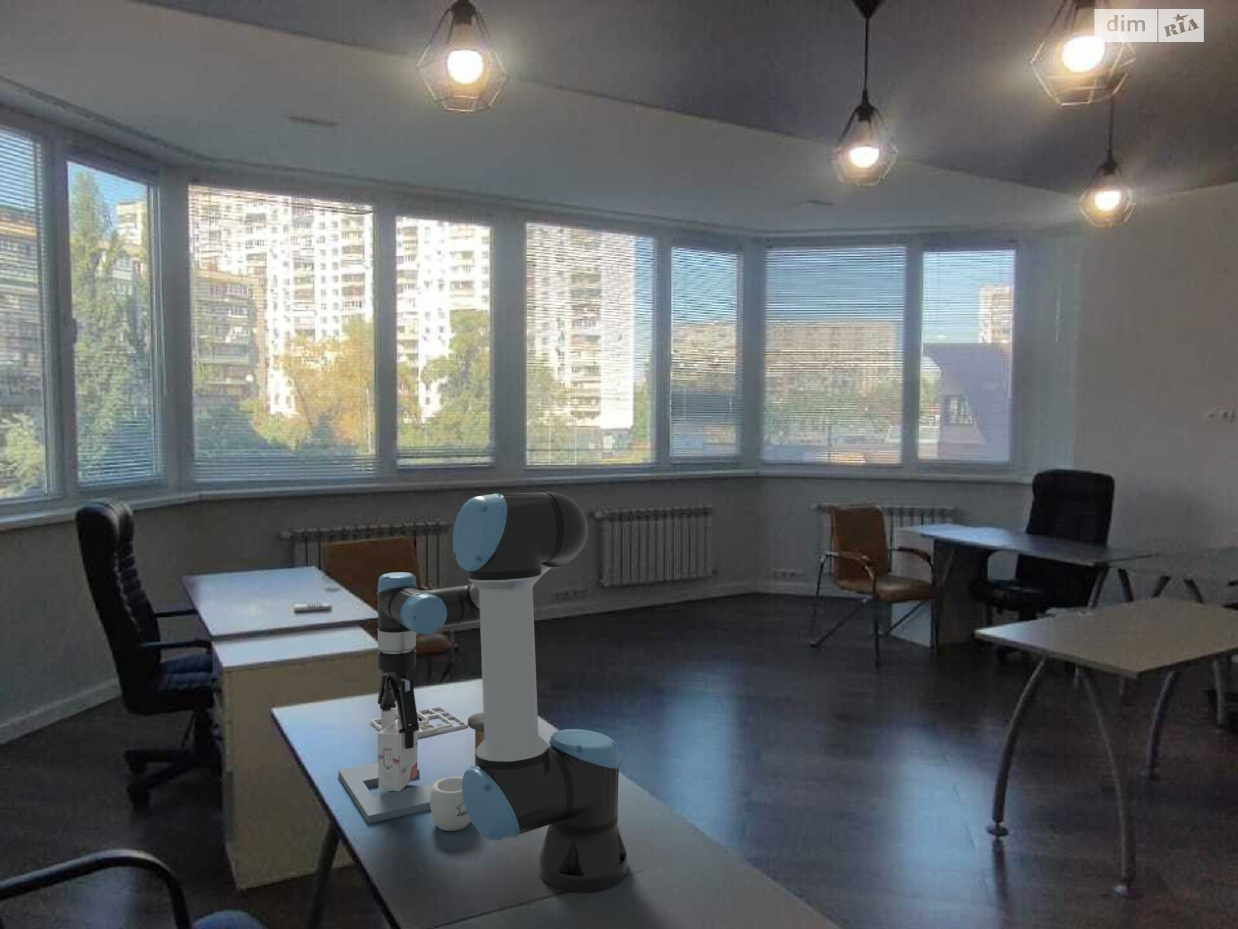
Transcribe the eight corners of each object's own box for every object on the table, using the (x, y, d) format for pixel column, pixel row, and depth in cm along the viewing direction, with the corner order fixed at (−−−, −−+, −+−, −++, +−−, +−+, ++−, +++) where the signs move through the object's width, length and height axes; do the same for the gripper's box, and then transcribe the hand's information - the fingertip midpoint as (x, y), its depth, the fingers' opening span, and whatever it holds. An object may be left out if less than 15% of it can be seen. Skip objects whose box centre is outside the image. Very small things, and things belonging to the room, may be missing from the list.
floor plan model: (342, 726, 213) (342, 718, 213) (436, 707, 228) (436, 700, 228) (369, 751, 198) (369, 742, 198) (467, 729, 213) (467, 721, 213)
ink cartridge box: (396, 773, 181) (396, 704, 181) (418, 775, 180) (418, 706, 180) (376, 790, 173) (376, 718, 172) (399, 792, 172) (399, 720, 171)
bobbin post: (519, 791, 177) (519, 722, 176) (473, 802, 172) (473, 730, 171) (499, 773, 185) (500, 707, 185) (455, 783, 180) (455, 715, 179)
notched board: (445, 806, 170) (445, 798, 170) (368, 823, 162) (368, 815, 162) (408, 763, 190) (408, 756, 190) (338, 776, 183) (338, 770, 182)
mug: (439, 840, 156) (439, 797, 156) (423, 820, 164) (423, 780, 163) (500, 824, 163) (500, 783, 162) (482, 806, 170) (483, 767, 169)
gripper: (435, 661, 166) (435, 769, 167) (397, 633, 188) (397, 729, 189) (396, 666, 163) (397, 777, 164) (362, 638, 184) (363, 735, 185)
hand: (397, 751), depth 176 cm, fingers open, 13 cm apart
